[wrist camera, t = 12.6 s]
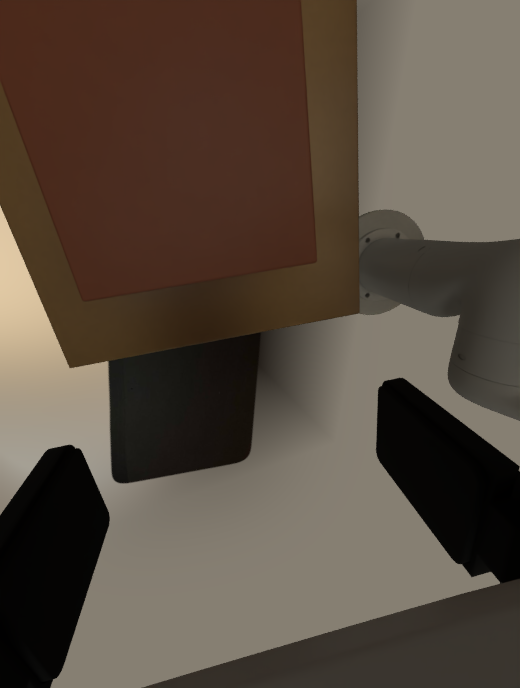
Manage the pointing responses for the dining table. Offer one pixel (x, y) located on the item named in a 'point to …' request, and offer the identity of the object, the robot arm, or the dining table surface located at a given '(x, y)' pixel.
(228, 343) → the dining table surface
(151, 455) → the dining table surface
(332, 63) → the pedestal
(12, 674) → the robot arm
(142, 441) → the dining table surface
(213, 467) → the dining table surface
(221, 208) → the block
